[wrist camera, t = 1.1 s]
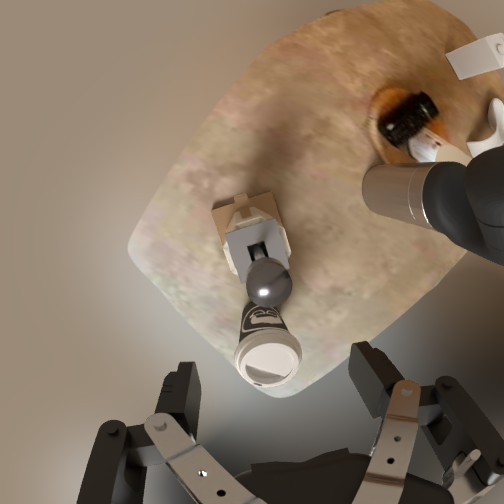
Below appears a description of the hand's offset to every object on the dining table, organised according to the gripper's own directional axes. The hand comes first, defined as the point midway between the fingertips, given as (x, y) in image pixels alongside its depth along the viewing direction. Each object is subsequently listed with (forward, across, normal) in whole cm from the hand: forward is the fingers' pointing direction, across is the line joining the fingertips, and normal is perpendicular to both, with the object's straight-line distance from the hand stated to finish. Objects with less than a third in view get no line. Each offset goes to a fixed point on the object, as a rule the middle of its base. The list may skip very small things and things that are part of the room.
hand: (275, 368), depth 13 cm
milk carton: (+34, -54, -39) cm, 74 cm away
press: (+33, -1, -1) cm, 33 cm away
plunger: (+21, -1, -1) cm, 22 cm away
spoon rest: (+34, -61, -23) cm, 74 cm away
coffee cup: (+33, -1, +15) cm, 36 cm away
